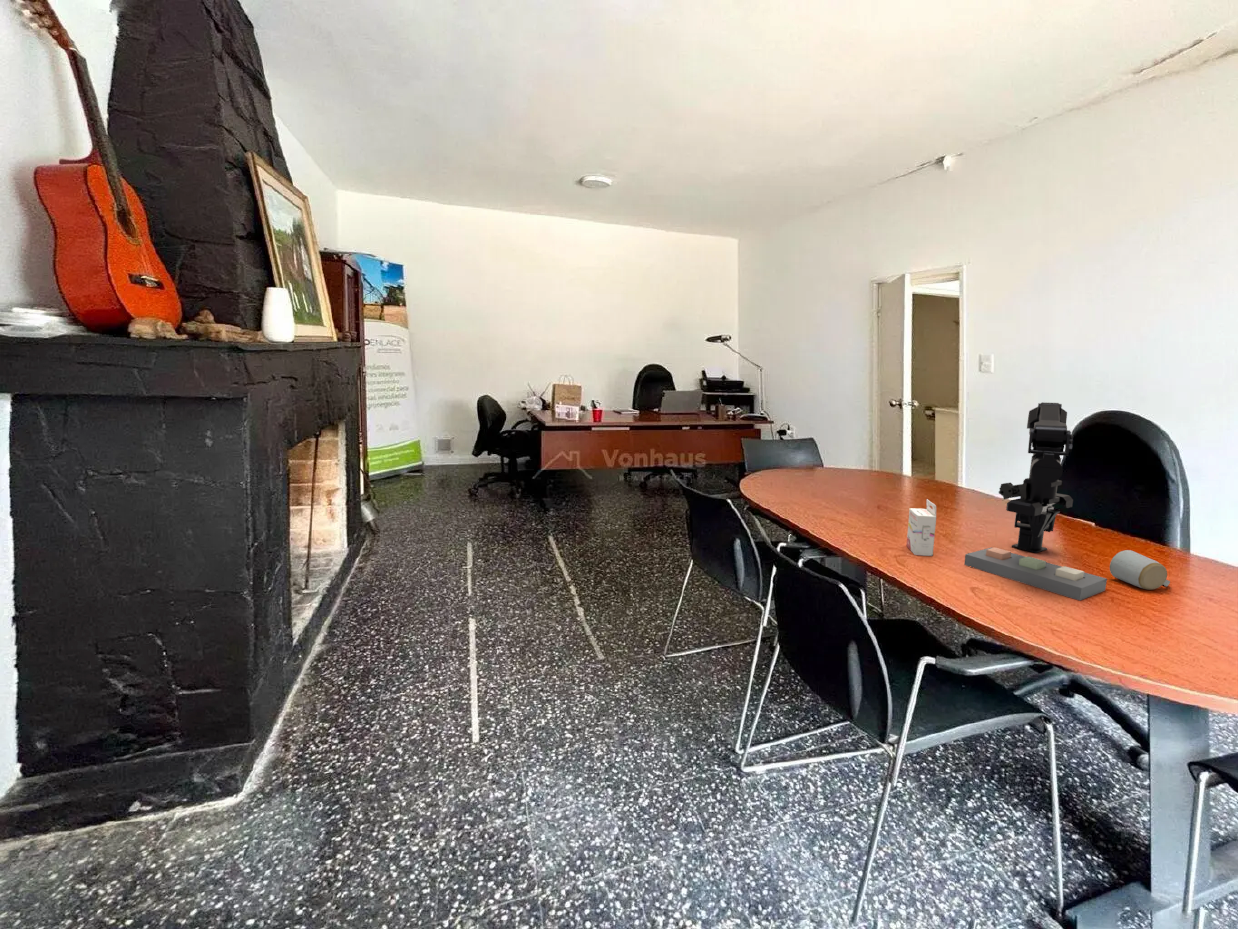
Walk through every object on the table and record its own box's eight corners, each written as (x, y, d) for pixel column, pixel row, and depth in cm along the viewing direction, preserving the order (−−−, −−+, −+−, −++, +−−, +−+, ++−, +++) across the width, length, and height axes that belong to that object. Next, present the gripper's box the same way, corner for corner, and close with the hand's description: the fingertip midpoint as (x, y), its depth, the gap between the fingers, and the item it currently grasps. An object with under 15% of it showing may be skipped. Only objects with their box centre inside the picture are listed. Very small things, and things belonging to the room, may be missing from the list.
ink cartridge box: (905, 545, 164) (909, 497, 161) (923, 546, 163) (927, 498, 160) (914, 555, 156) (919, 504, 153) (933, 556, 155) (938, 505, 152)
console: (990, 557, 153) (991, 547, 153) (1105, 590, 131) (1107, 578, 130) (964, 564, 148) (965, 554, 147) (1079, 600, 125) (1081, 588, 125)
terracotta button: (994, 556, 149) (995, 547, 148) (1010, 560, 145) (1011, 551, 145) (985, 558, 147) (986, 549, 146) (1001, 563, 143) (1002, 554, 143)
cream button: (1063, 575, 135) (1064, 566, 134) (1082, 581, 131) (1084, 571, 131) (1054, 578, 133) (1056, 569, 132) (1074, 584, 129) (1075, 574, 129)
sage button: (1026, 565, 142) (1028, 556, 141) (1044, 570, 138) (1045, 561, 138) (1018, 568, 140) (1019, 558, 139) (1036, 573, 136) (1037, 563, 136)
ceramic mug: (1138, 592, 130) (1144, 561, 128) (1106, 578, 138) (1111, 549, 137) (1180, 591, 131) (1186, 560, 129) (1145, 578, 139) (1151, 549, 137)
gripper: (1028, 467, 146) (1020, 523, 149) (987, 473, 138) (980, 533, 140) (1078, 474, 136) (1069, 534, 139) (1037, 482, 128) (1029, 546, 131)
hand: (1035, 536), depth 138 cm, fingers closed
